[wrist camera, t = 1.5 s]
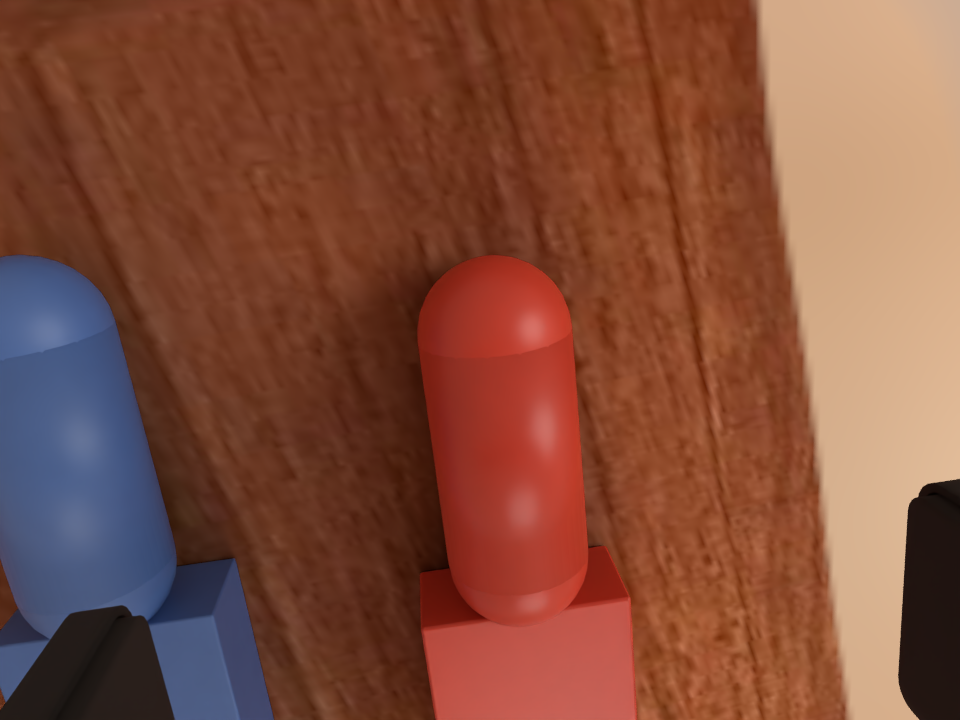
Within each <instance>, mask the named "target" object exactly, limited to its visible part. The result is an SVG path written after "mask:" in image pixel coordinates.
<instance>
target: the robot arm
mask: <svg viewBox="0 0 960 720" xmlns="http://www.w3.org/2000/svg"><path fill="white" fill-rule="evenodd" d="M898 676H899V677H898V678H899V686H900V690H901V692H902V695H903V698H904V700H905V702H906V703H907V705H908V706H909V708H910V709H911V711H913V713H914V714H915V715H916V716H917V717H918V718H919V720H960V479H957V480H950V481H945V482H938V483H931V484H927V485H925V486H924V487H923V488H922V489H921V491H920V493H919V496H918V497H917V498H914V499H913V500H912V501H911V503H910V504H909V508H908V519H907V536H906V554H905V571H904V587H903V604H902V621H901V638H900V657H899V674H898ZM0 720H175V718H174V714H173V710H172V707H171V703H170V700H169V696H168V692H167V689H166V685H165V682H164V678H163V674H162V671H161V667H160V663H159V660H158V656H157V653H156V649H155V645H154V642H153V638H152V635H151V631H150V627H149V625H148V622H147V620H146V619H145V617H144V616H141V615H138V616H132V614H131V612H130V611H129V609H128V608H127V607H125V606H123V605H120V606H113V607H106V608H100V609H93V610H86V611H80V612H74V613H71V614H69V615H68V616H67V617H66V618H65V619H64V621H63V622H62V624H61V625H60V627H59V628H58V629H57V631H56V632H55V634H54V635H53V636H52V638H51V639H50V641H49V642H48V644H47V645H46V646H45V648H44V649H43V651H42V652H41V654H40V655H39V656H38V658H37V659H36V661H35V662H34V663H33V665H32V666H31V668H30V669H29V671H28V672H27V673H26V675H25V676H24V678H23V679H22V680H21V682H20V683H19V685H18V686H17V688H16V689H15V690H14V692H13V693H12V695H11V696H10V698H9V699H8V700H7V702H6V703H5V705H4V706H3V707H2V709H1V710H0Z"/></svg>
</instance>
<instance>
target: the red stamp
mask: <svg viewBox="0 0 960 720" xmlns="http://www.w3.org/2000/svg"><path fill="white" fill-rule="evenodd" d="M417 339H418V349H419V356H420V363H421V370H422V378H423V385H424V392H425V399H426V406H427V413H428V421H429V428H430V435H431V442H432V449H433V456H434V463H435V471H436V478H437V485H438V492H439V499H440V506H441V513H442V521H443V528H444V535H445V542H446V549H447V556H448V563H449V568H448V569H442V570H435V571H428V572H422V573H420V611H421V633H422V639H423V646H424V652H425V658H426V665H427V671H428V677H429V684H430V690H431V696H432V703H433V709H434V715H435V720H637V708H636V690H635V671H634V653H633V634H632V616H631V598H630V596H629V594H628V592H627V590H626V588H625V586H624V583H623V581H622V579H621V577H620V575H619V573H618V571H617V568H616V566H615V564H614V562H613V560H612V558H611V556H610V553H609V551H608V549H607V547H606V546H598V547H592V548H588V539H587V525H586V511H585V498H584V484H583V470H582V457H581V443H580V429H579V415H578V402H577V388H576V374H575V361H574V347H573V333H572V323H571V318H570V312H569V310H568V307H567V305H566V302H565V300H564V297H563V295H562V294H561V292H560V291H559V289H558V288H557V286H556V285H555V283H554V282H553V281H552V280H551V279H550V278H549V277H548V276H547V275H546V274H545V273H544V272H542V271H541V270H539V269H538V268H536V267H534V266H533V265H531V264H530V263H528V262H525V261H522V260H520V259H517V258H514V257H508V256H501V255H486V256H480V257H475V258H473V259H470V260H467V261H464V262H462V263H460V264H458V265H456V266H455V267H453V268H452V269H450V270H449V271H447V272H446V273H445V274H444V275H443V276H442V277H441V278H440V279H439V280H438V281H437V282H436V283H435V284H434V285H433V287H432V288H431V290H430V291H429V293H428V294H427V296H426V298H425V300H424V303H423V306H422V308H421V311H420V314H419V320H418V326H417Z"/></svg>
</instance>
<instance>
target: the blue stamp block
mask: <svg viewBox="0 0 960 720" xmlns="http://www.w3.org/2000/svg"><path fill="white" fill-rule="evenodd" d="M0 560H1V563H2V566H3V568H4V571H5V574H6V577H7V580H8V583H9V585H10V588H11V591H12V594H13V597H14V600H15V603H16V605H17V606H18V609H17V610H16V612H15V613H14V614H13V615H12V617H11V618H10V619H9V620H8V622H7V623H6V624H5V625H4V627H3V628H2V629H1V630H0V689H1V691H2V694H3V696H4V699H5V702H7V700H8V699H9V698H10V696H11V695H12V693H13V692H14V690H15V689H16V688H17V686H18V685H19V683H20V682H21V680H22V679H23V678H24V676H25V675H26V673H27V672H28V671H29V669H30V668H31V666H32V665H33V663H34V662H35V661H36V659H37V658H38V656H39V655H40V654H41V652H42V651H43V649H44V648H45V646H46V645H47V644H48V642H49V641H50V639H51V638H52V636H53V635H54V634H55V632H56V631H57V629H58V628H59V627H60V625H61V624H62V622H63V621H64V619H65V618H66V617H67V616H68V615H69V614H71V613H74V612H80V611H86V610H93V609H100V608H106V607H113V606H120V605H123V606H125V607H127V608H128V609H129V611H130V612H131V614H132V616H138V615H141V616H144V617H145V619H146V620H147V622H148V625H149V627H150V631H151V635H152V638H153V642H154V645H155V649H156V653H157V656H158V660H159V663H160V667H161V671H162V674H163V678H164V682H165V685H166V689H167V692H168V696H169V700H170V703H171V707H172V710H173V714H174V718H175V720H274V718H273V713H272V709H271V705H270V701H269V697H268V693H267V689H266V684H265V680H264V676H263V672H262V668H261V664H260V660H259V655H258V651H257V647H256V643H255V639H254V635H253V630H252V626H251V622H250V618H249V614H248V610H247V606H246V601H245V597H244V593H243V589H242V585H241V581H240V576H239V572H238V568H237V564H236V560H235V559H234V558H233V559H226V560H219V561H212V562H205V563H198V564H191V565H184V566H177V567H176V565H177V556H176V549H175V542H174V539H173V535H172V531H171V527H170V524H169V520H168V516H167V512H166V509H165V505H164V501H163V498H162V494H161V490H160V486H159V483H158V479H157V475H156V471H155V468H154V464H153V460H152V456H151V453H150V449H149V445H148V441H147V438H146V434H145V430H144V427H143V423H142V419H141V415H140V412H139V408H138V404H137V400H136V397H135V393H134V389H133V385H132V382H131V378H130V374H129V370H128V367H127V363H126V359H125V356H124V352H123V348H122V344H121V341H120V337H119V333H118V329H117V326H116V322H115V319H114V316H113V313H112V311H111V308H110V306H109V304H108V303H107V301H106V299H105V298H104V296H103V295H102V293H101V292H100V291H99V290H98V289H97V288H96V287H95V286H94V285H93V284H92V283H91V282H90V280H88V279H87V278H86V277H85V276H83V275H82V274H80V273H79V272H77V271H76V270H75V269H73V268H71V267H69V266H67V265H64V264H62V263H60V262H58V261H54V260H51V259H47V258H43V257H39V256H28V255H11V256H3V257H0Z"/></svg>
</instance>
